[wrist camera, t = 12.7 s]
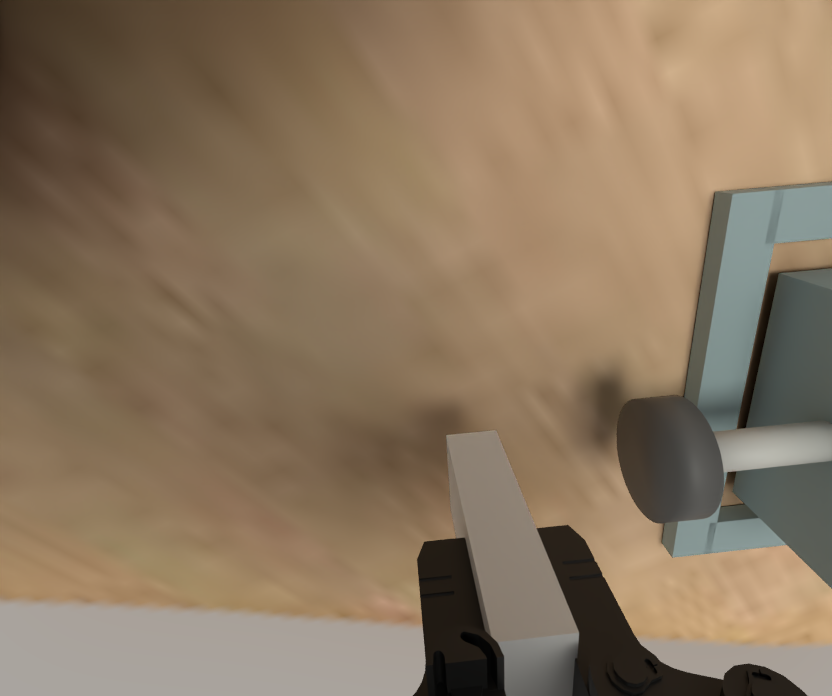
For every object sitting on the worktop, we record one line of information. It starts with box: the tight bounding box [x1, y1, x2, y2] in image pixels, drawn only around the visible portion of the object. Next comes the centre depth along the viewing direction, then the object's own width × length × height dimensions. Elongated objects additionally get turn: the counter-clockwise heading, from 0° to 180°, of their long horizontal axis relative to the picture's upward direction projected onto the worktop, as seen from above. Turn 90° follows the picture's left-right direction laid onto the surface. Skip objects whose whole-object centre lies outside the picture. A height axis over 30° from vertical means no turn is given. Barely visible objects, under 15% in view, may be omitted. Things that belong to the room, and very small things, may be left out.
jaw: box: [617, 268, 832, 588], centre depth 15 cm, size 9×9×6 cm
